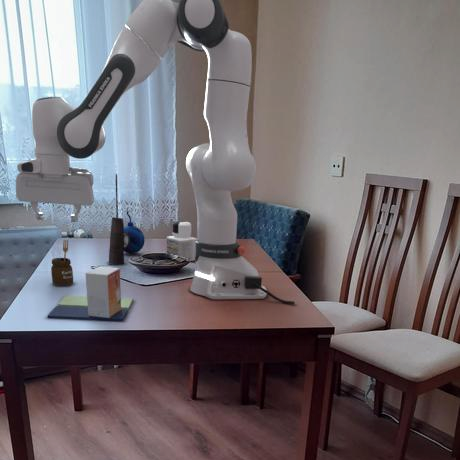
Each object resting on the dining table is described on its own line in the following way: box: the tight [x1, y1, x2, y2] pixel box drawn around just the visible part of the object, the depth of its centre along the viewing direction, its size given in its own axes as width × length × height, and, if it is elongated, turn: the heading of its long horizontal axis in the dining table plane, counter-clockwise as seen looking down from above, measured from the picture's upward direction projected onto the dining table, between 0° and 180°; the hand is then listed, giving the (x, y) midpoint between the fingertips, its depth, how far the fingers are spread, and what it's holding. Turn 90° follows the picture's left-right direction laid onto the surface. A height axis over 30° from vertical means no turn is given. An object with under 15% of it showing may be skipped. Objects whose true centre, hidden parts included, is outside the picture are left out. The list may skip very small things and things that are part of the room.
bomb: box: [124, 210, 146, 254], centre depth 199 cm, size 10×11×15 cm
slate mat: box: [47, 305, 129, 322], centre depth 137 cm, size 18×8×1 cm, turn 91°
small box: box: [85, 265, 122, 318], centre depth 134 cm, size 8×6×10 cm
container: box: [166, 220, 197, 262], centre depth 195 cm, size 8×8×13 cm
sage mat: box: [57, 295, 134, 311], centre depth 145 cm, size 18×8×1 cm, turn 91°
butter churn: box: [108, 173, 125, 266], centre depth 180 cm, size 9×10×28 cm
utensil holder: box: [50, 239, 74, 287], centre depth 158 cm, size 6×6×12 cm
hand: (57, 220), depth 153 cm, fingers open, 8 cm apart
